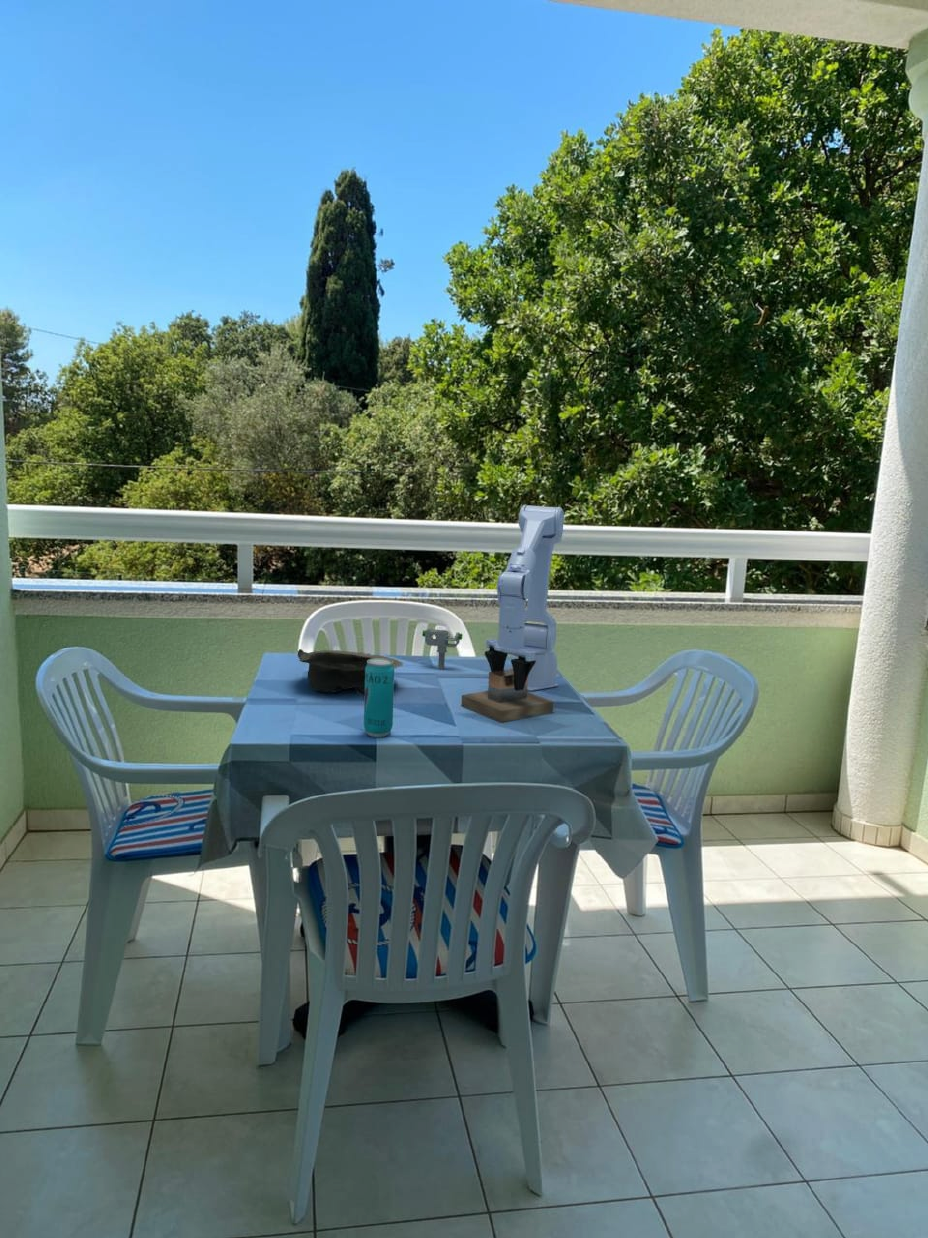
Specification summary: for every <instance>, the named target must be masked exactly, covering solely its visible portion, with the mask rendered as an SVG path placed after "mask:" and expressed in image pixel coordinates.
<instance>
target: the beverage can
mask: <svg viewBox="0 0 928 1238" xmlns="http://www.w3.org/2000/svg"><path fill="white" fill-rule="evenodd" d="M394 683H395V669H394V667H393V661H392V660H389V659H384V658H374V659H369V660H367V666H366V668H365V694H364V702H363V703H364V707H363V709H364V710H363V727H364V730H365V733H366V734H367V735H368V736H370V737H374V738H383V737H387V736H389V735H390V733H391V730H392V729H393V724H394V718H393V717H394V692H395V691H394V690H395V689H394V688H395V686H394V685H395V684H394Z"/></svg>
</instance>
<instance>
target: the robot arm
mask: <svg viewBox="0 0 928 1238" xmlns="http://www.w3.org/2000/svg"><path fill="white" fill-rule="evenodd" d="M519 510H520V511H519V512H518V513H519V515H518V527H519V529H520V532H521V533H522V535H521V538H520V542H519V546H518V547H516V548H514V549H513V550H512V552H511V555H510V557H509V559H508V563H507V566H506V568H505V570H504V571H503V572H500V573H499V575H498V577H497V581H496V593H497V605H498V606H499V609H498V610H499V611H498V628H497V631H498V632H497V638H488V639H486V642H485V643H486V645H485V647H486V649H488V650H485V651H484V656H485V658H486V660H487V661H488V665H489V668H490V672H495V671H501V670H505V664H506V661H507V657H508V655H511V656H514V657H516V658H514V659H510V663H511V665H512V669H513V671H514V689H515V690H516V691H518V690H523V689H524V686H525V683H526V680H527V677H528V685H527V691H528V692H532V691H537V690H538V691H539V690H543V689H549V688H554V687H555V688H556V687H559V684H558V683H557V672H558V671H557V670H558V658H557V654H556V653H555V652H554V650H553V649H554V648H555V645H556V642H557V641H556V640H557V627H556V626H557V622H556V619H555V618H554V617H553V616H552V615H551V614H550V613H549V612H548V611H547V604H548V596H549V595H548V594H549V586H550V585H549V584H550V577H551V576H550V575H551V566H552V559H553V558H552V557H553V551H554V546H555V544H557V543H560V542H562V537H563V530H564V524H565V523H564V522H565V514H564V509H562V507H561V506H558V507H556V506H545V505H544V506H541V505H528V504H523V505H522V506H521V508H520V509H519ZM528 622H530V623H528ZM531 622H533V623H531ZM538 623H540V624H538ZM541 623H543V624H541ZM517 657H518V658H517Z"/></svg>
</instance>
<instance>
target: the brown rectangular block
mask: <svg viewBox="0 0 928 1238" xmlns="http://www.w3.org/2000/svg"><path fill="white" fill-rule="evenodd" d="M487 685H488V689H487V691H488V699H490V700H493V701H495V702H498V703H502V702H508V701H513V700H519V699H524V698H527V692H528V690H527V685H528V677H527V680H526V683H525V686H524V689H523V690H518V691H516V690H515V689H514V671H513V668H509V669H504V670H501V671H495V672H491V671H490V672H488V684H487Z"/></svg>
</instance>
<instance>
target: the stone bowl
mask: <svg viewBox="0 0 928 1238" xmlns="http://www.w3.org/2000/svg"><path fill="white" fill-rule="evenodd" d="M297 657H298V659H299V660H298V662H301V663H306V664H308V670H307V680H308V682H309V686H310V688H311V689H312V690H314V691H316V692H320V693H321V692H325V693H338V692H341V691H342V690H343V689H345V690H347V689H351V688H354V690H355V693H358V694H360V695H365V668H366V666H367V660H369V659H374V658H384V659H389V660H392V661H393V667H394V670H395V669H397V668H400V667H403V665H404V662H402V661H400V660H398V659H395V658H390V657H388V656H385V655H380V654H371V653H366V652H358V651H357V652H356V651H346V650H336V649H335V650H333V649H323V650H315V651H310V652H307V651H304V650H303V649H301V648H299V649H298V650H297Z"/></svg>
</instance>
